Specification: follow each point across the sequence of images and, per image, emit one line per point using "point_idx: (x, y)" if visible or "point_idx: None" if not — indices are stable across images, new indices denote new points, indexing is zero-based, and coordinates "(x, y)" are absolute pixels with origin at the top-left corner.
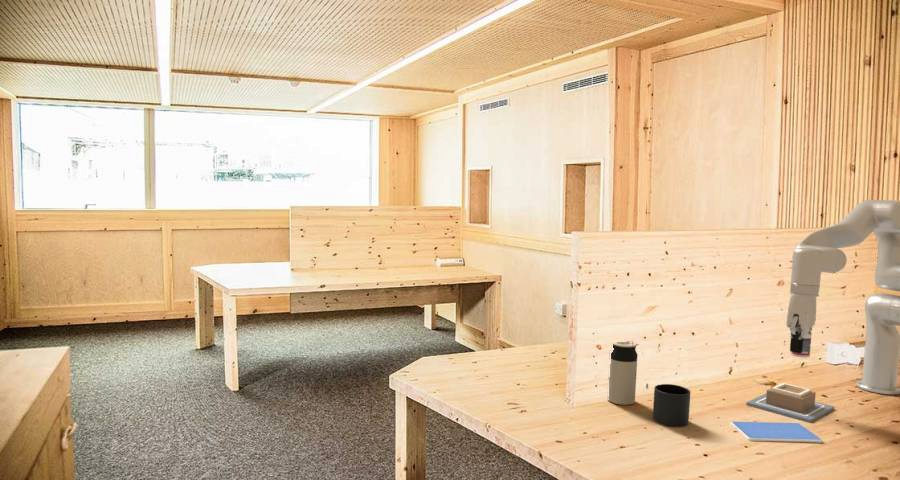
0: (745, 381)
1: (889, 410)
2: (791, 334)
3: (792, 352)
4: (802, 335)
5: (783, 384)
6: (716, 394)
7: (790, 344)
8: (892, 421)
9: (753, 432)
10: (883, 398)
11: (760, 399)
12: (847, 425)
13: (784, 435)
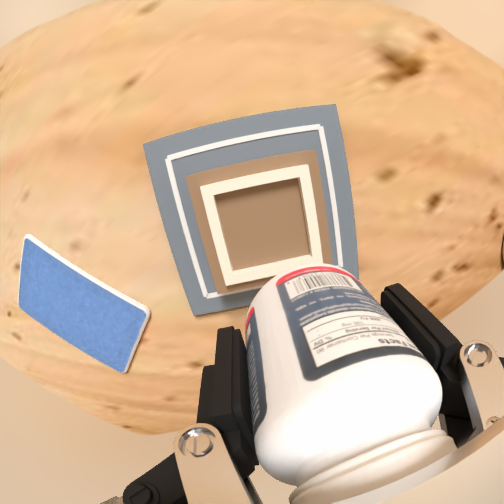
0: (353, 14)
1: None
2: (140, 478)
3: (248, 320)
4: (285, 482)
5: (288, 178)
6: (149, 46)
7: (216, 363)
8: None
9: (32, 295)
10: (486, 272)
11: (210, 140)
12: None
13: (72, 332)
